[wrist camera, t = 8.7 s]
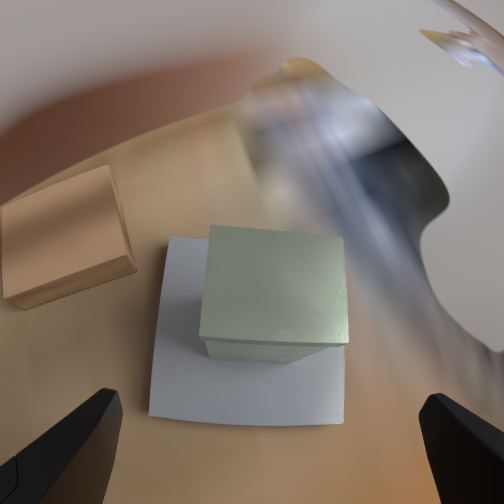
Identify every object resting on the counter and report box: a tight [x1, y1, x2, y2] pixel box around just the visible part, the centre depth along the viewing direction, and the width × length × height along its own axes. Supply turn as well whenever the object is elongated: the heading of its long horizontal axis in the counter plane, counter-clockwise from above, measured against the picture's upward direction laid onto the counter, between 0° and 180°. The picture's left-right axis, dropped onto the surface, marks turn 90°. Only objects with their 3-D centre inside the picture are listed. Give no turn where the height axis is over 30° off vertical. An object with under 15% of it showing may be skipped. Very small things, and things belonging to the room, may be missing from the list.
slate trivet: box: [149, 236, 344, 426], centre depth 20 cm, size 12×12×2 cm
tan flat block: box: [1, 164, 137, 311], centre depth 21 cm, size 8×10×3 cm
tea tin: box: [199, 225, 349, 363], centre depth 15 cm, size 4×5×9 cm
